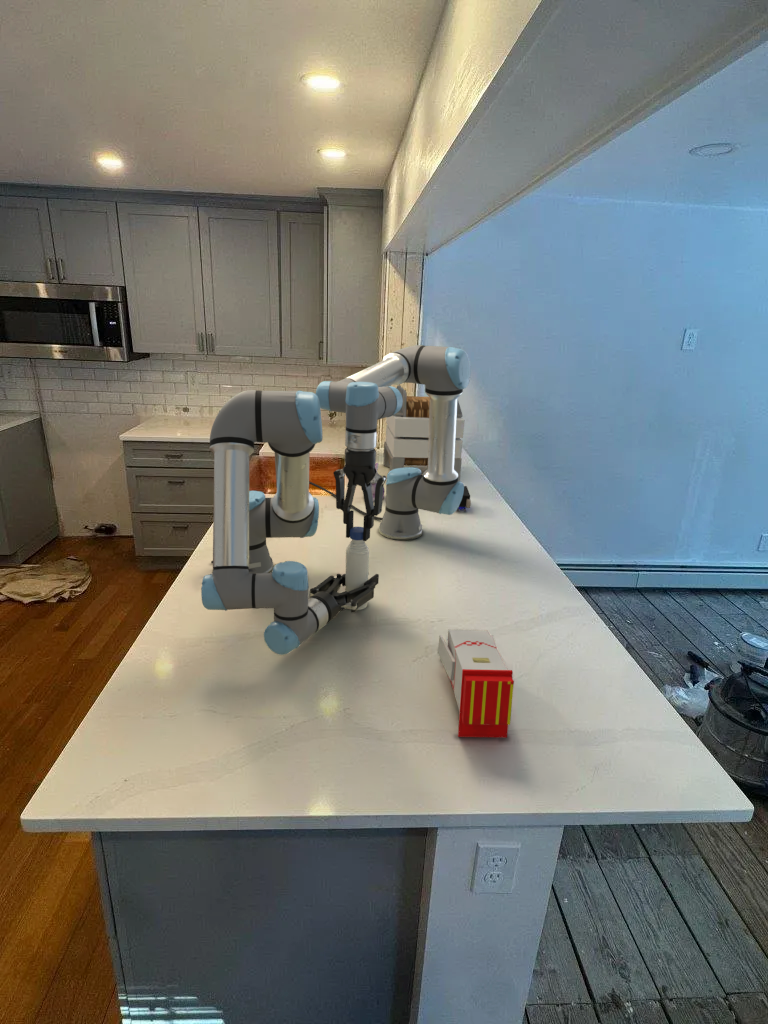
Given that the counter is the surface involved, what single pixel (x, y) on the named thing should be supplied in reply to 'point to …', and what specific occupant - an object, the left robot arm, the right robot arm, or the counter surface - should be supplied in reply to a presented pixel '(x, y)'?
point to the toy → (478, 682)
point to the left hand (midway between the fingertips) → (366, 575)
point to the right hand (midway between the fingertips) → (357, 537)
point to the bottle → (356, 566)
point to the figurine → (374, 484)
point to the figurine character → (465, 500)
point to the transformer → (415, 434)
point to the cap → (356, 533)
